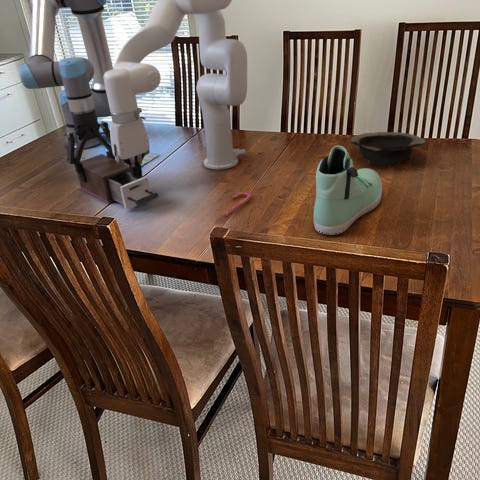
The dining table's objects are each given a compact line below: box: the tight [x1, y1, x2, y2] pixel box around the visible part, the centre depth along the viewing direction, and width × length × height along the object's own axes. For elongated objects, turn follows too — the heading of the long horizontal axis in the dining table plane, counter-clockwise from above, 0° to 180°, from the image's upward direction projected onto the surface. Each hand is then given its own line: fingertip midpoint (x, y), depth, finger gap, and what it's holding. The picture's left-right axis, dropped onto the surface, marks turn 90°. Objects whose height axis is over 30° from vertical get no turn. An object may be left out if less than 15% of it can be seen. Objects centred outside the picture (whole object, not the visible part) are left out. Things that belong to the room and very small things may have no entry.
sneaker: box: [313, 145, 383, 236], centre depth 133 cm, size 14×35×20 cm, turn 152°
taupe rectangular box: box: [76, 153, 131, 205], centre depth 159 cm, size 18×10×9 cm, turn 44°
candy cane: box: [223, 191, 253, 218], centre depth 145 cm, size 6×15×2 cm, turn 145°
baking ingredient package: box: [125, 153, 159, 167], centre depth 182 cm, size 9×1×15 cm
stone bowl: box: [350, 131, 426, 169], centre depth 166 cm, size 25×25×9 cm
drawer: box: [106, 171, 159, 211], centre depth 150 cm, size 23×9×7 cm, turn 44°
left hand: (98, 175), depth 162 cm, fingers closed on taupe rectangular box, 10 cm apart
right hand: (137, 177), depth 142 cm, fingers closed
